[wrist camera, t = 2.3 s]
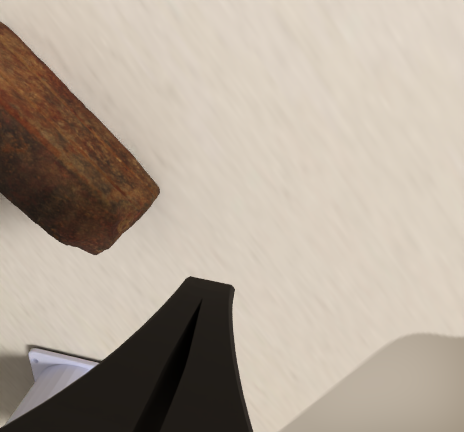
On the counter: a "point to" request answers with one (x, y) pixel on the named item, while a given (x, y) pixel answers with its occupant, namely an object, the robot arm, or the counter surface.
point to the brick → (63, 157)
